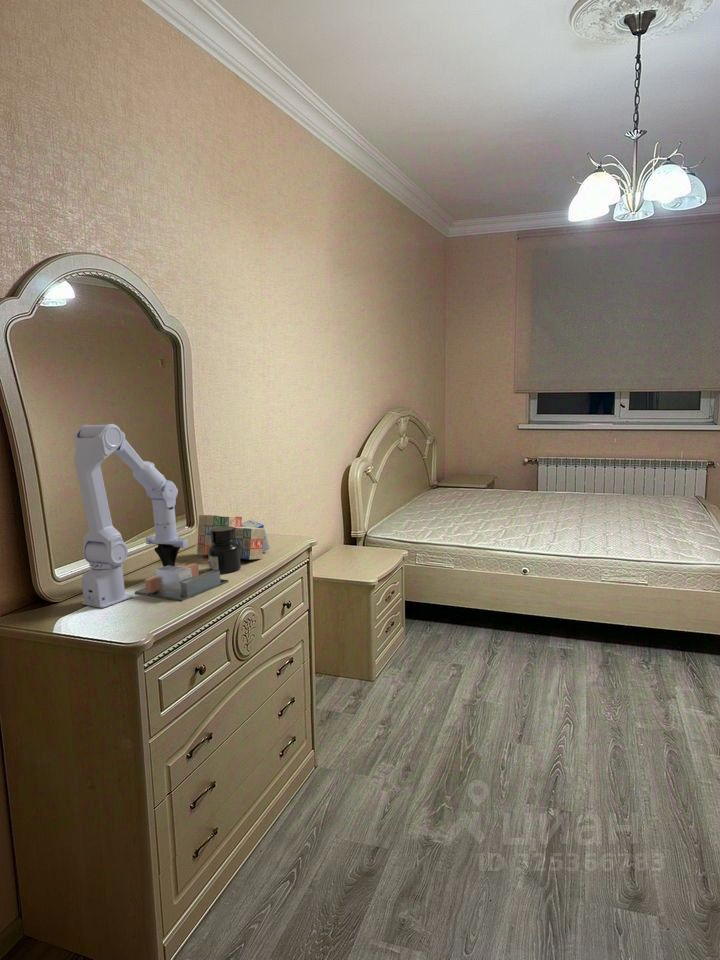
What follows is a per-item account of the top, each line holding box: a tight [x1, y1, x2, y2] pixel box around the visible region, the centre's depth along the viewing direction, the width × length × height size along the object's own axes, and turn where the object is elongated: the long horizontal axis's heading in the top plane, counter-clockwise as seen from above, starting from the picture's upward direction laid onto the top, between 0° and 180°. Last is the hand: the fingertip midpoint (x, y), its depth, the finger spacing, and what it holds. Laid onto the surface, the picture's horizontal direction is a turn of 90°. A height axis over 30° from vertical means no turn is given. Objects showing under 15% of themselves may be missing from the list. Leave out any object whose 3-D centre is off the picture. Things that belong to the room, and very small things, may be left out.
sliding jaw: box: [144, 562, 200, 593], centre depth 177 cm, size 17×2×3 cm, turn 150°
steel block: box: [155, 565, 191, 596], centre depth 171 cm, size 4×8×6 cm, turn 60°
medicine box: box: [241, 519, 270, 553], centre depth 209 cm, size 8×4×9 cm, turn 40°
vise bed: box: [134, 570, 229, 602], centre depth 176 cm, size 17×17×4 cm
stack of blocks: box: [196, 514, 265, 560], centre depth 204 cm, size 21×6×12 cm, turn 59°
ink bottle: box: [207, 526, 242, 574], centre depth 191 cm, size 10×9×12 cm
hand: (169, 570), depth 186 cm, fingers closed
